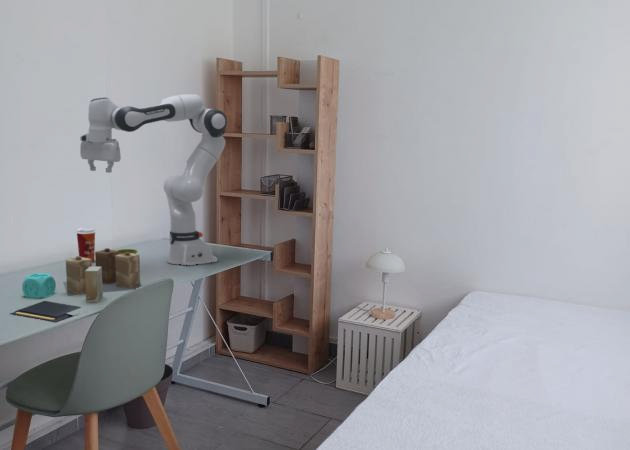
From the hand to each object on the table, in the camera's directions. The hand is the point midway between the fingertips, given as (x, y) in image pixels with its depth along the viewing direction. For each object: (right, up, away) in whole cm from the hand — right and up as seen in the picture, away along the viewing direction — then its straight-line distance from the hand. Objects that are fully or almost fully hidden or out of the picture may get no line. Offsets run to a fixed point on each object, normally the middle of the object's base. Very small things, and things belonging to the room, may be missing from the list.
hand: (100, 171), depth 249 cm
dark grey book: (0, -52, -48) cm, 70 cm away
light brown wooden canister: (+2, -46, -27) cm, 54 cm away
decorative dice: (-11, -48, -32) cm, 59 cm away
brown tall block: (+17, -45, -18) cm, 51 cm away
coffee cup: (-14, -39, +22) cm, 47 cm away
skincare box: (+11, -49, -36) cm, 62 cm away
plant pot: (+8, -42, +7) cm, 43 cm away
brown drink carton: (+7, -44, -13) cm, 46 cm away
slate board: (+7, -46, -18) cm, 50 cm away
